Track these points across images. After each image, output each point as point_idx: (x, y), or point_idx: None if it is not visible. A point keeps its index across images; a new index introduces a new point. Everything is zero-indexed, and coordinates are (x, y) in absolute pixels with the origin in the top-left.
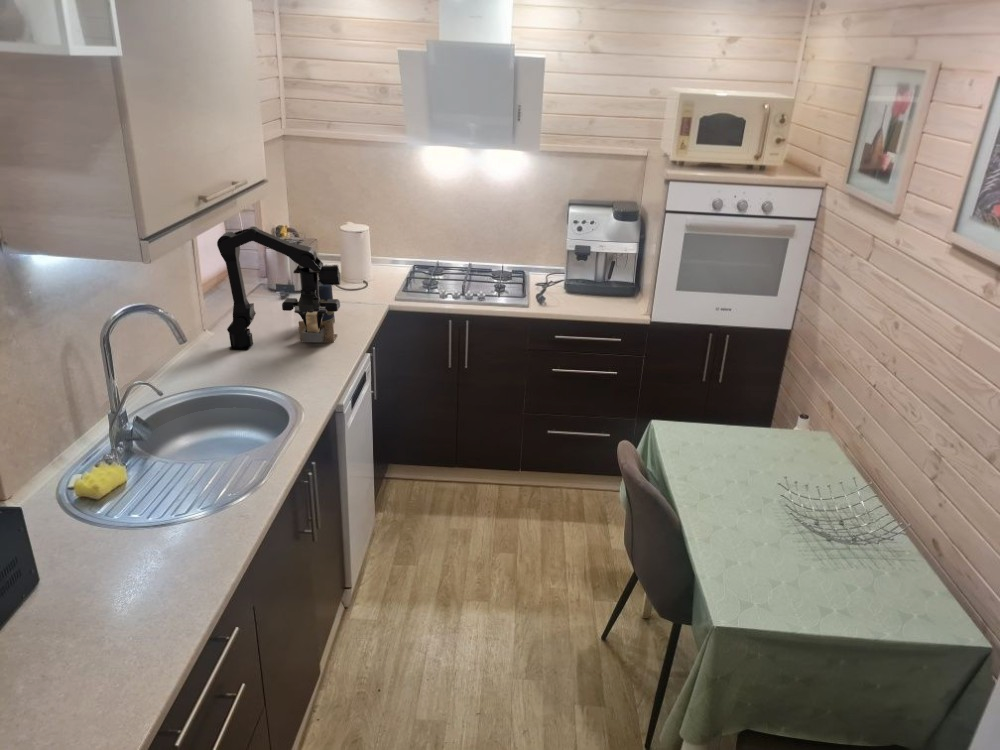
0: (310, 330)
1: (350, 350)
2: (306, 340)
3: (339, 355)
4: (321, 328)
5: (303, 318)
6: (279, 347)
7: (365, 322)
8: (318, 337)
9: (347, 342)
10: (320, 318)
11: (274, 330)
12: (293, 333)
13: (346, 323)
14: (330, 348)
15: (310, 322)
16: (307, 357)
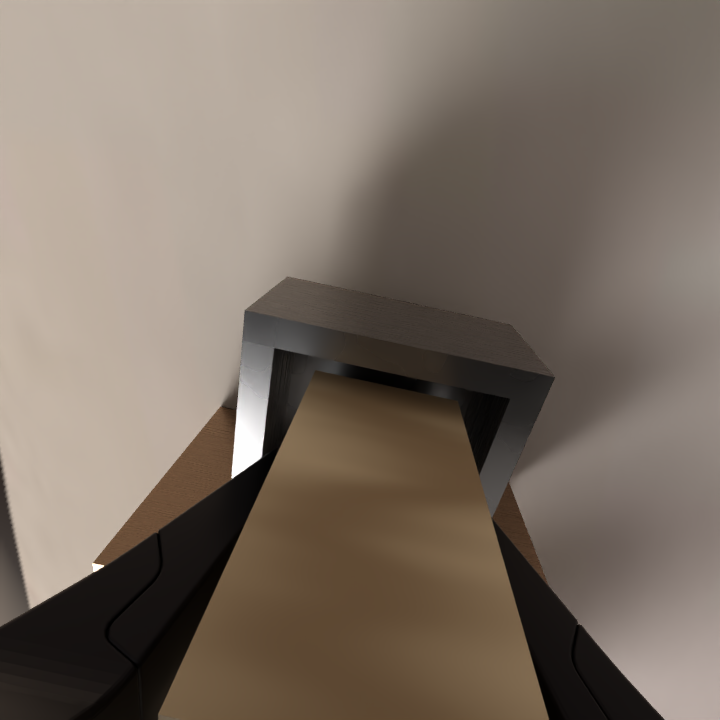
0: (413, 419)
1: (25, 181)
2: (468, 320)
3: (97, 29)
4: None
5: (585, 667)
6: (716, 378)
7: None
8: (308, 299)
9: (110, 387)
10: (118, 574)
11: (660, 681)
12: None
13: None
14: (231, 270)
15: (404, 521)
16: (466, 6)
